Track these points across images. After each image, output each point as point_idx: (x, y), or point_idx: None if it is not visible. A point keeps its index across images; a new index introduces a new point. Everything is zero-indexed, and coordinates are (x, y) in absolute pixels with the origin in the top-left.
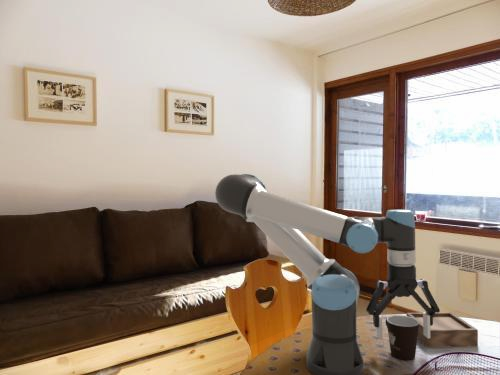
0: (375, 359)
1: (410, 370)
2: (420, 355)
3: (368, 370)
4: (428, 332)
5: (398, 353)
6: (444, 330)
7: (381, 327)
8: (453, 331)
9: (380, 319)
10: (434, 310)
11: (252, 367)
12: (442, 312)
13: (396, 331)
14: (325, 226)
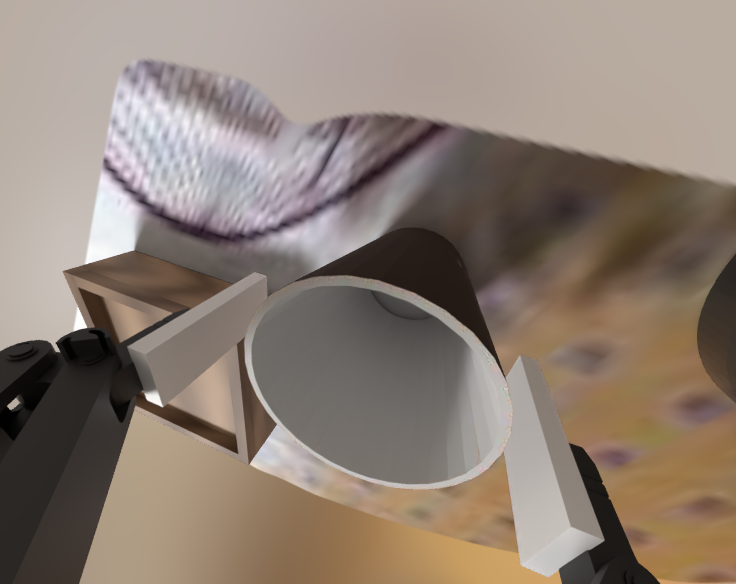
0: (573, 289)
1: (483, 130)
2: (339, 256)
3: None
4: (240, 287)
5: (460, 260)
6: (171, 312)
7: (547, 424)
8: (145, 298)
9: (578, 504)
10: (51, 369)
11: None
12: (144, 413)
13: (483, 325)
14: None
